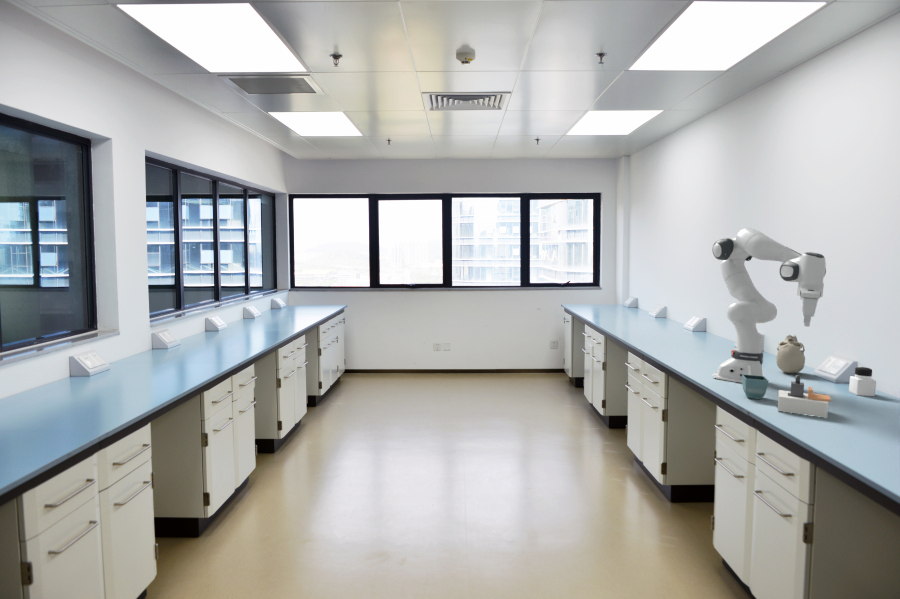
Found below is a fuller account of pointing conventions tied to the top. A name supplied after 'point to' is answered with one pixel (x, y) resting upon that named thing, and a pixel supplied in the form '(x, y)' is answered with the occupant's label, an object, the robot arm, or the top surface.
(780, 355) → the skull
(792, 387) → the plug
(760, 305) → the robot arm
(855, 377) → the medicine bottle
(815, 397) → the shutter
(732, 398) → the top surface
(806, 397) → the socket
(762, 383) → the flower pot
